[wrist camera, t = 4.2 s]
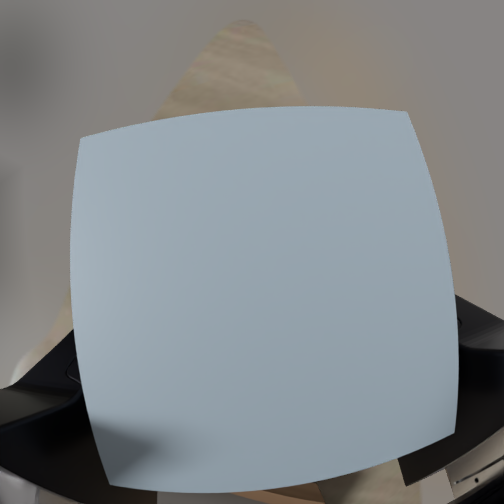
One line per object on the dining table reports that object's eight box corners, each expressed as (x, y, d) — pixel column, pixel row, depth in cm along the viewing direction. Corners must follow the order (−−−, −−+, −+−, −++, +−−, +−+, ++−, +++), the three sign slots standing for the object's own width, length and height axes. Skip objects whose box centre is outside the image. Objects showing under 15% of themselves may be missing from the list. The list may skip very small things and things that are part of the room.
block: (292, 250, 16) (406, 111, 4) (304, 345, 15) (454, 432, 3) (198, 261, 15) (80, 138, 4) (208, 356, 14) (109, 484, 3)
